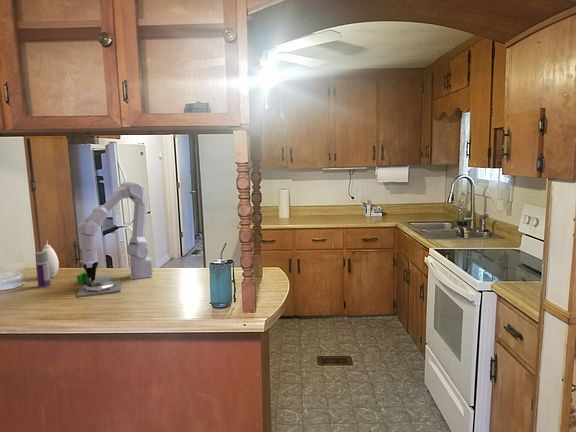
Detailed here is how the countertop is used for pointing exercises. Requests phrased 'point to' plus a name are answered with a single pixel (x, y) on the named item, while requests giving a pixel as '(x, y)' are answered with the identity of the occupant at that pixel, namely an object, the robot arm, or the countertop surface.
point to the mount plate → (114, 290)
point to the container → (42, 269)
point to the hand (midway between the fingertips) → (92, 280)
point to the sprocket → (98, 285)
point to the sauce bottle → (52, 260)
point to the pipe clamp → (82, 278)
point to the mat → (102, 278)
